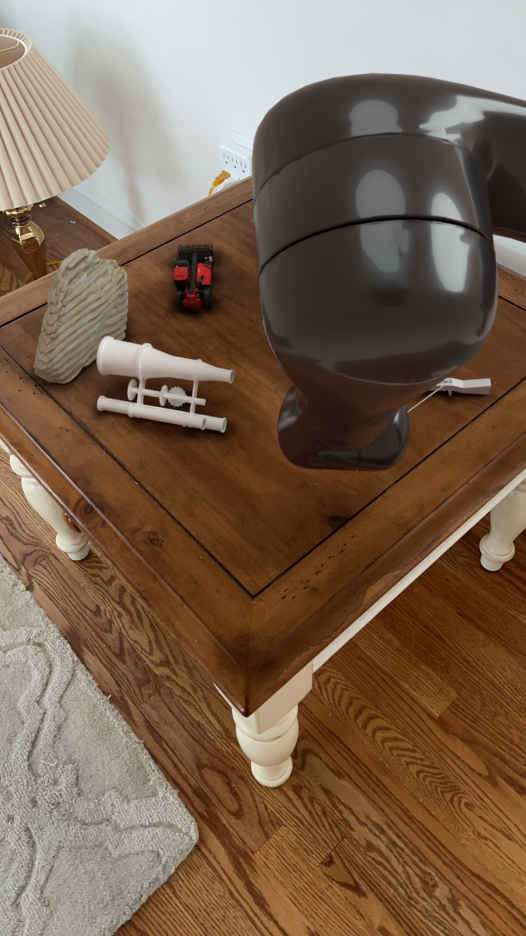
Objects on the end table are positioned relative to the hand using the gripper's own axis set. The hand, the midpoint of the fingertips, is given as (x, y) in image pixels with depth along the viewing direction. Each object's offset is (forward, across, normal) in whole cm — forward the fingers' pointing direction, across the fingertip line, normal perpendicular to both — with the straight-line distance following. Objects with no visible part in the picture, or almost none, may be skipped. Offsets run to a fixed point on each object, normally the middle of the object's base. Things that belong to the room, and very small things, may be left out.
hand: (347, 198), depth 80 cm
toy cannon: (-20, +18, +12) cm, 30 cm away
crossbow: (-16, -8, +13) cm, 22 cm away
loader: (+1, +18, +12) cm, 22 cm away
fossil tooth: (-10, +29, +12) cm, 33 cm away
